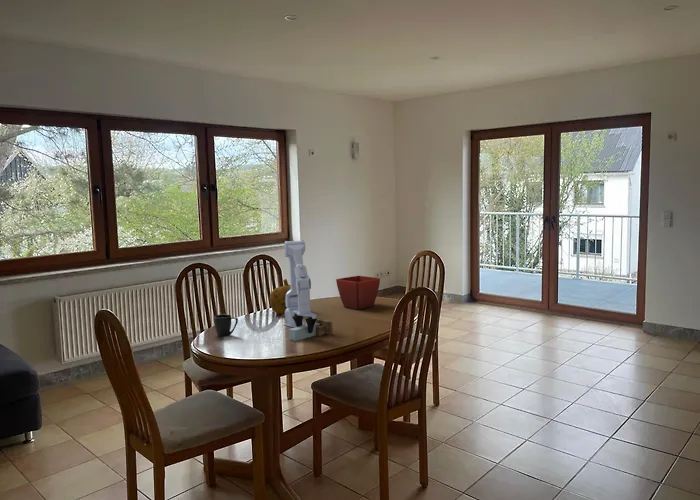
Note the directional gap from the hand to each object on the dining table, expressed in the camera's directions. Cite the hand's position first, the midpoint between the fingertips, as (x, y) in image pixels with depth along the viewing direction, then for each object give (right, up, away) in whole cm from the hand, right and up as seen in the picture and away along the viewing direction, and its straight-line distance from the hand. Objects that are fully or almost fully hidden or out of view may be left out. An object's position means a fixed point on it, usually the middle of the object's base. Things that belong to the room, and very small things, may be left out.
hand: (305, 331), depth 256 cm
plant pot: (+26, +5, +64) cm, 70 cm away
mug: (-38, -3, +6) cm, 39 cm away
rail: (0, -3, 0) cm, 3 cm away
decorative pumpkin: (-14, +2, +53) cm, 54 cm away
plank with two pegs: (+6, -2, +7) cm, 9 cm away
